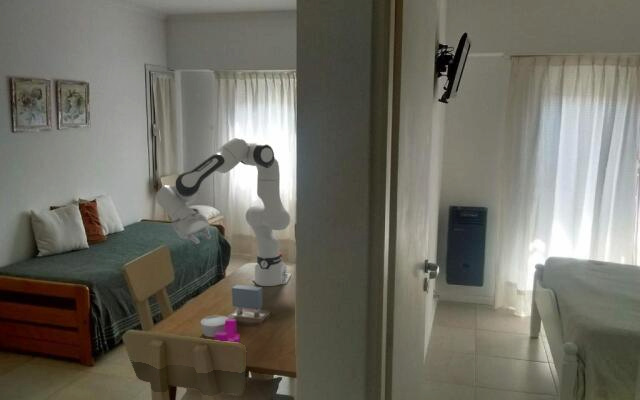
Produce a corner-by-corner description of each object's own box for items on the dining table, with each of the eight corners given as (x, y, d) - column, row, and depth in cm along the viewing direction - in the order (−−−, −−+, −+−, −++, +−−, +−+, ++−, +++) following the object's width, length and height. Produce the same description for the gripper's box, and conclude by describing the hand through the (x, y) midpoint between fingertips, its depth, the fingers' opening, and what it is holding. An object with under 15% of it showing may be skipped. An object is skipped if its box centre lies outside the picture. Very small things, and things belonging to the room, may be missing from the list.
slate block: (237, 302, 226) (236, 284, 225) (262, 305, 223) (262, 287, 221) (232, 306, 223) (231, 287, 221) (258, 309, 219) (258, 290, 218)
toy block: (232, 355, 190) (232, 335, 189) (215, 354, 191) (214, 335, 190) (243, 337, 205) (242, 319, 204) (227, 337, 206) (226, 318, 204)
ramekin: (222, 325, 217) (221, 312, 216) (234, 333, 208) (234, 321, 208) (196, 332, 211) (195, 319, 210) (208, 341, 202) (207, 328, 201)
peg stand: (239, 310, 233) (238, 298, 232) (272, 314, 228) (272, 302, 227) (223, 322, 219) (223, 310, 219) (258, 327, 214) (258, 314, 214)
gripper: (174, 216, 221) (195, 241, 219) (199, 208, 240) (220, 230, 238) (165, 226, 223) (187, 250, 221) (191, 217, 242) (211, 239, 240)
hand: (204, 240), depth 230 cm, fingers open, 8 cm apart
